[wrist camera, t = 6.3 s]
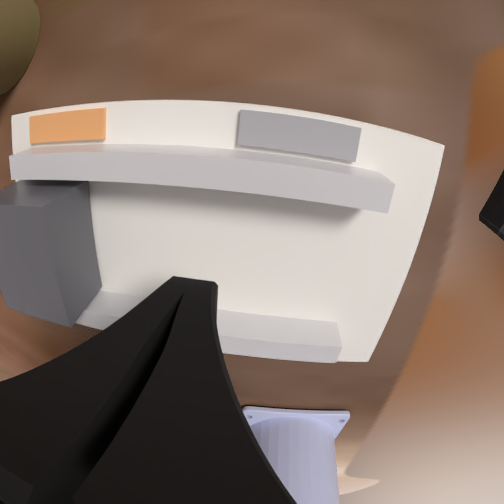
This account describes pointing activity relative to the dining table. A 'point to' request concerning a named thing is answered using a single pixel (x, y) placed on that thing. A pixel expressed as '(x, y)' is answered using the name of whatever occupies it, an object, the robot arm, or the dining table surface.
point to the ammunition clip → (495, 209)
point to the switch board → (244, 214)
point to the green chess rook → (17, 39)
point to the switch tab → (48, 249)
